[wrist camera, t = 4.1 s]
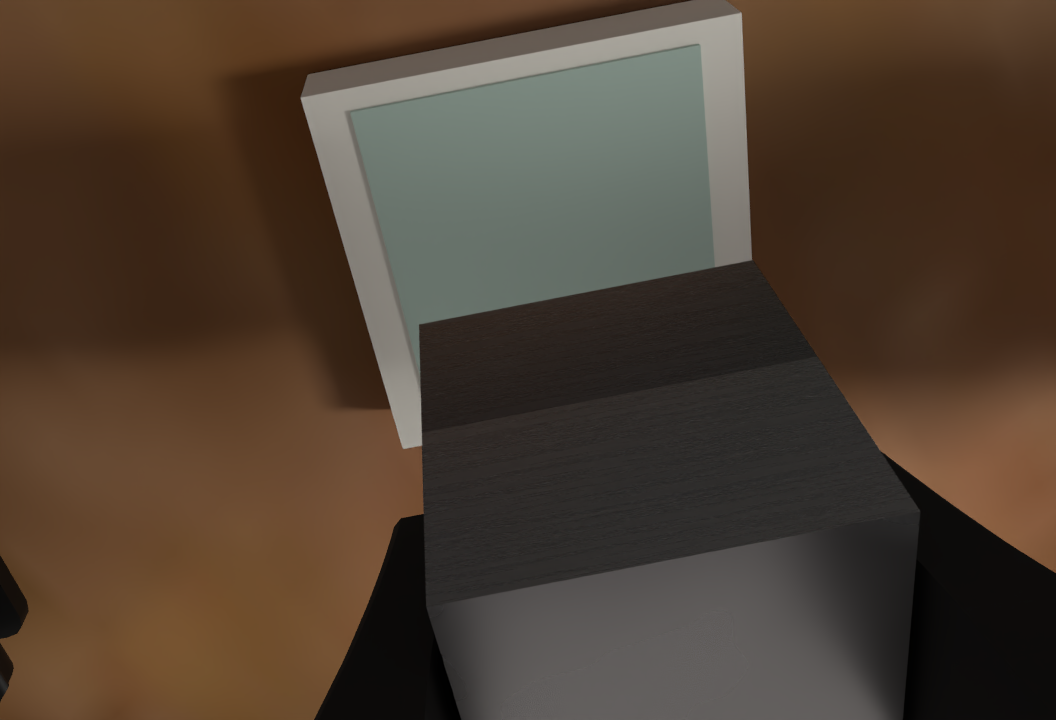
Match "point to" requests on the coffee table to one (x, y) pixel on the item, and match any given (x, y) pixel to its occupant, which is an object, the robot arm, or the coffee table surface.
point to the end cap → (9, 620)
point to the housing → (658, 513)
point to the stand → (533, 170)
